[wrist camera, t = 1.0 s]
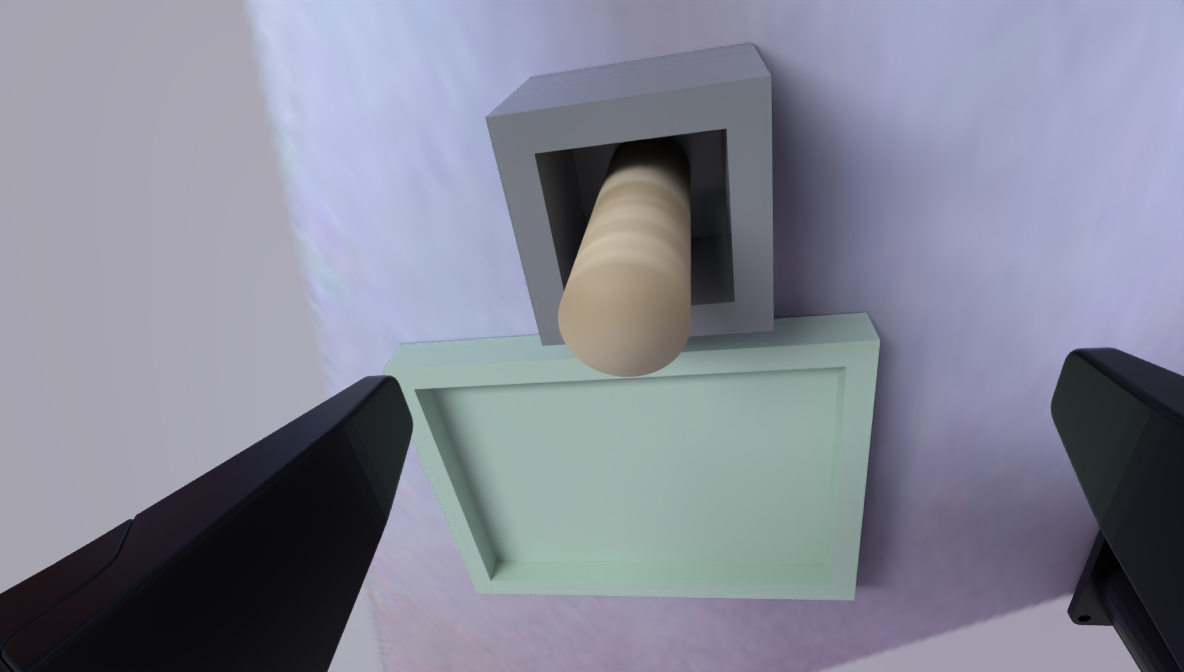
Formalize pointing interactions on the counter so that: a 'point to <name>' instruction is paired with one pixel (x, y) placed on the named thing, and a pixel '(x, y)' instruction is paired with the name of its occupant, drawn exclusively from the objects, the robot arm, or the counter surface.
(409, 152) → the counter surface
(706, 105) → the grey square sleeve
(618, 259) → the dowel pin
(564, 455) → the tray
